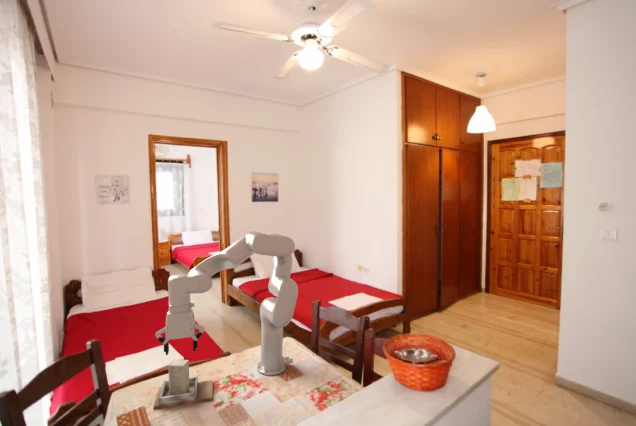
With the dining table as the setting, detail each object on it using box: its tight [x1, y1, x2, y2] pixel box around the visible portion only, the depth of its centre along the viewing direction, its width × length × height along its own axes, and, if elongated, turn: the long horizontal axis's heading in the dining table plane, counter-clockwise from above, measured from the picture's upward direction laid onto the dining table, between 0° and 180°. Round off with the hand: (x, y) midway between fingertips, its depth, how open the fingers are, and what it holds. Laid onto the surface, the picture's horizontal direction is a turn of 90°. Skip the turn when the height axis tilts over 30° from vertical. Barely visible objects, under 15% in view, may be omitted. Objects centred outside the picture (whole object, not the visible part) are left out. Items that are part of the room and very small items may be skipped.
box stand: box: [153, 376, 214, 410], centre depth 126 cm, size 20×12×4 cm, turn 107°
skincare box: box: [167, 359, 190, 396], centre depth 125 cm, size 6×4×12 cm
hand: (181, 351), depth 125 cm, fingers open, 9 cm apart
